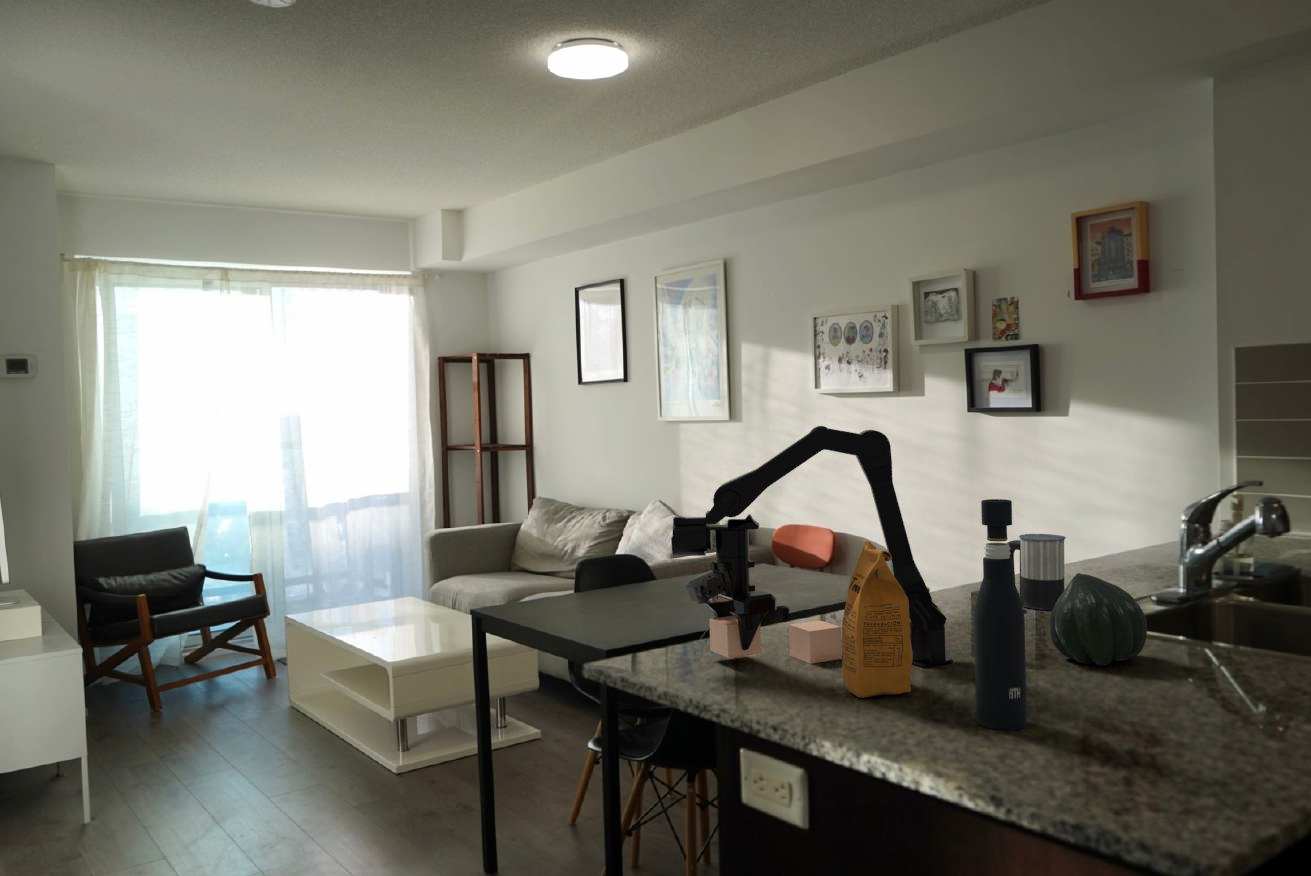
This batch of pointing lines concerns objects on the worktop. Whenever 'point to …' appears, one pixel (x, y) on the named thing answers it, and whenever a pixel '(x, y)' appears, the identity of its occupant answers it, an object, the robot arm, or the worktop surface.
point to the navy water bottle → (999, 630)
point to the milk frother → (1040, 569)
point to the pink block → (730, 638)
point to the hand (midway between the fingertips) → (735, 645)
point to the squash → (1097, 622)
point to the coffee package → (876, 629)
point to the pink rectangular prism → (815, 641)
